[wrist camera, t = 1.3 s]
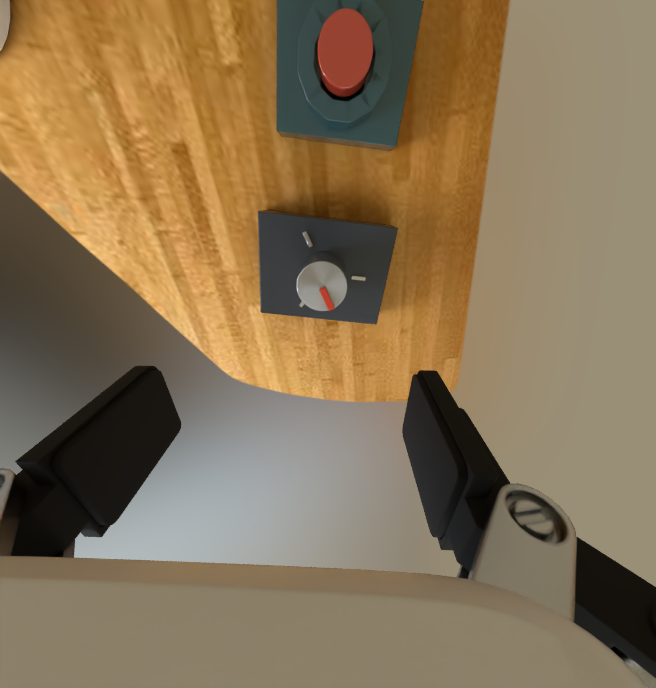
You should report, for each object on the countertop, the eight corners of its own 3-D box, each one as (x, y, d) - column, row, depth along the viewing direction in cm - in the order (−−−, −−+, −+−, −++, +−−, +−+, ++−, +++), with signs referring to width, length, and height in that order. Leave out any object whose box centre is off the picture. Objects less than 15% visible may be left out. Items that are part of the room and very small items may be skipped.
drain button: (316, 93, 19) (315, 84, 17) (321, 20, 17) (320, 2, 15) (364, 100, 19) (367, 91, 17) (374, 29, 17) (378, 11, 15)
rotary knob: (294, 262, 25) (286, 275, 21) (334, 243, 24) (335, 252, 20) (313, 301, 27) (309, 319, 23) (351, 285, 26) (355, 301, 22)
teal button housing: (281, 136, 23) (271, 125, 19) (282, -1, 19) (271, -47, 15) (390, 151, 23) (401, 142, 20) (415, 20, 19) (433, -20, 16)
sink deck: (266, 303, 30) (260, 313, 28) (265, 209, 26) (257, 211, 23) (372, 314, 31) (376, 325, 28) (391, 225, 26) (398, 228, 23)
